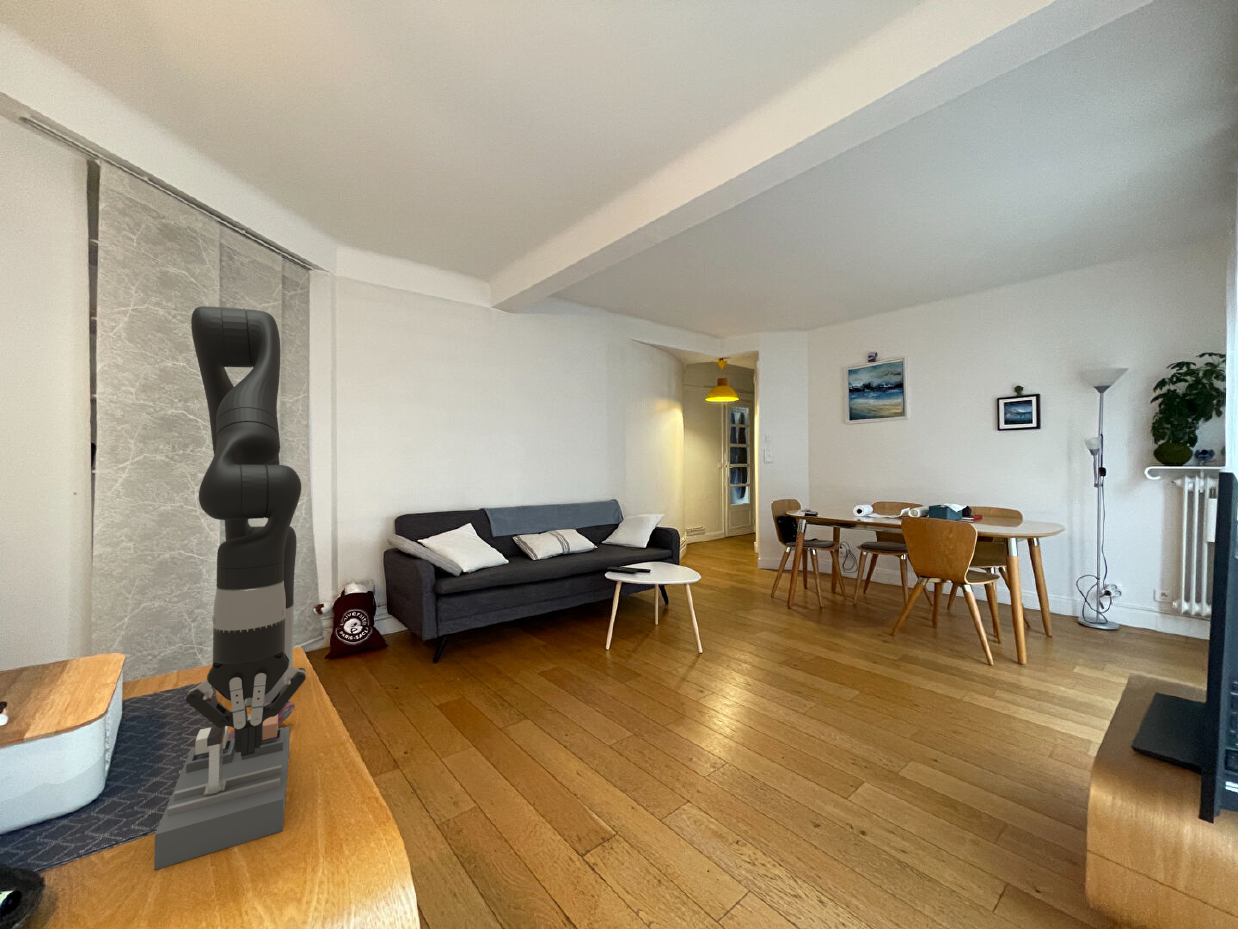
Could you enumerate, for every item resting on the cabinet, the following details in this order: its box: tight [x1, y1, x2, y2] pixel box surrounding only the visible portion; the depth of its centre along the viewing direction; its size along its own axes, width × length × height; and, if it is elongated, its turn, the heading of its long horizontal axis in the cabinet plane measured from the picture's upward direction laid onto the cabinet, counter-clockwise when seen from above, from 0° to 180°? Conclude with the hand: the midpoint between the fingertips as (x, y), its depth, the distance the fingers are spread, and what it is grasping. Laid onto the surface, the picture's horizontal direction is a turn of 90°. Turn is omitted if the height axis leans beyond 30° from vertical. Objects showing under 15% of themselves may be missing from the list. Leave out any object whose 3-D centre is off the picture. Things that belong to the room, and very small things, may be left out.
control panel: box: [153, 725, 291, 871], centre depth 68 cm, size 20×12×5 cm, turn 31°
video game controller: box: [228, 700, 296, 739], centre depth 83 cm, size 10×5×7 cm, turn 169°
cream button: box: [194, 726, 229, 755], centre depth 71 cm, size 3×3×2 cm
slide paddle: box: [204, 725, 227, 797], centre depth 63 cm, size 3×2×8 cm, turn 31°
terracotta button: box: [262, 714, 279, 740], centre depth 74 cm, size 3×3×2 cm
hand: (248, 752), depth 65 cm, fingers closed
